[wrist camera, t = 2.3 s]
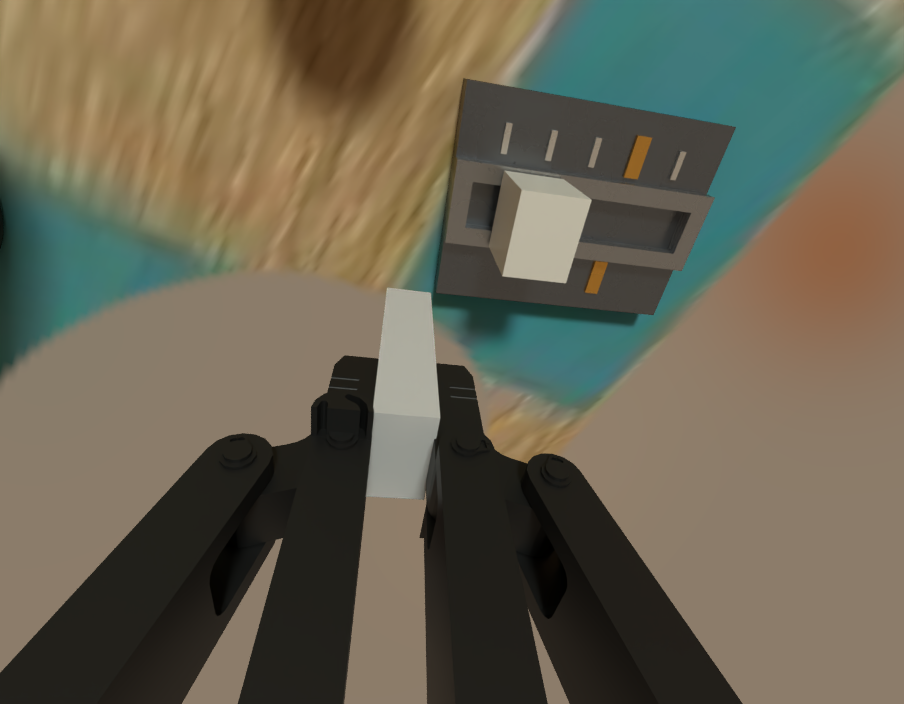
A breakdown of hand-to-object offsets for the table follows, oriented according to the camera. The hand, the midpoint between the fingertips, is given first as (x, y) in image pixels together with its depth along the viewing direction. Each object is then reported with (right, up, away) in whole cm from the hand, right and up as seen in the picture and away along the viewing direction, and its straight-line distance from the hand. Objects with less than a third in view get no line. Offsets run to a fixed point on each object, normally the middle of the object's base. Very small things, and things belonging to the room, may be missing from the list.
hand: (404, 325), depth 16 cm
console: (+10, +10, +17) cm, 22 cm away
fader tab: (+6, +9, +15) cm, 19 cm away
